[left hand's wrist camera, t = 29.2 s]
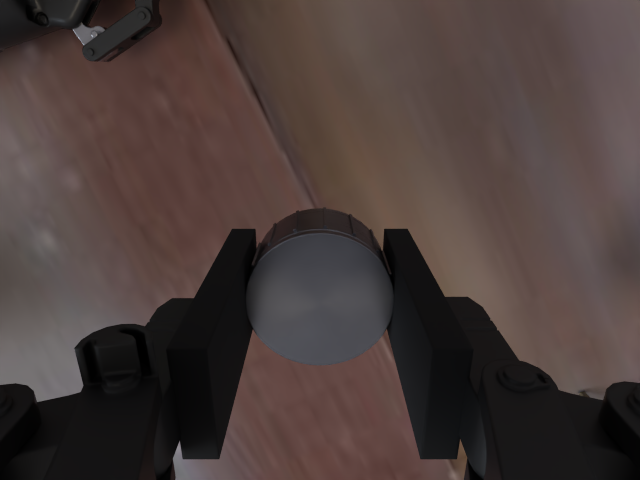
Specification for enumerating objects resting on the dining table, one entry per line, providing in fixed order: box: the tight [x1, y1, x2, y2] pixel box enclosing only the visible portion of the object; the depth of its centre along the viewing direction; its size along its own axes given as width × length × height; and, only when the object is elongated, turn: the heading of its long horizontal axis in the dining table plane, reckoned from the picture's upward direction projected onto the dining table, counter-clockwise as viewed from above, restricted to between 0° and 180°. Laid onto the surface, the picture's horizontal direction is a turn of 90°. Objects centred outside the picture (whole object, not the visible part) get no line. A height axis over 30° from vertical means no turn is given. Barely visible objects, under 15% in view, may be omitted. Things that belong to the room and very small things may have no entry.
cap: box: [245, 207, 394, 365], centre depth 13 cm, size 4×4×2 cm
